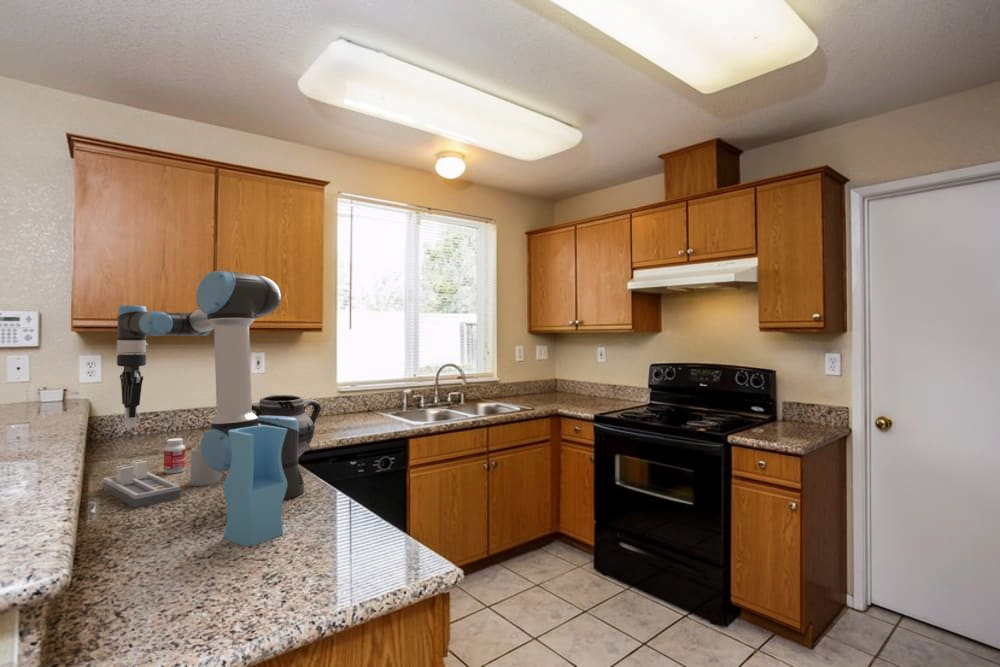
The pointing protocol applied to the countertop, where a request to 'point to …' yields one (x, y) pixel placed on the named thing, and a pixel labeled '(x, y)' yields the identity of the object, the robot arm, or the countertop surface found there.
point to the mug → (202, 470)
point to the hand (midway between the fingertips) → (130, 427)
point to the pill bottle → (174, 456)
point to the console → (143, 490)
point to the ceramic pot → (291, 414)
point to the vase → (255, 485)
